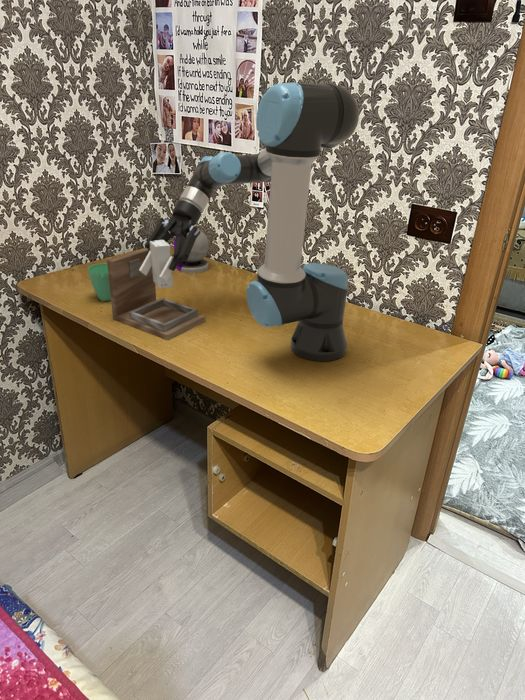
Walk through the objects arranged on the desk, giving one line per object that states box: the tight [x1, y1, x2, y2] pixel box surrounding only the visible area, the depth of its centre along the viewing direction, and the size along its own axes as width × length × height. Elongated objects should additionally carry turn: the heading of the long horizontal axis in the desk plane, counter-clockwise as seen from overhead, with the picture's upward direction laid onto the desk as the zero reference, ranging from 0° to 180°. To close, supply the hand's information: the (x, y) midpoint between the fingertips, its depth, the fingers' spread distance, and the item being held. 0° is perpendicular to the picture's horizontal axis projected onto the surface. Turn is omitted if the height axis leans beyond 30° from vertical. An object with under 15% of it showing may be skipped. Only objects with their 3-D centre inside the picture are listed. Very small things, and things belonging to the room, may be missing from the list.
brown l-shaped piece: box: [106, 247, 206, 341], centre depth 153 cm, size 22×16×18 cm
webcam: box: [173, 229, 210, 274], centre depth 196 cm, size 13×13×15 cm
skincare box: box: [150, 240, 174, 289], centre depth 148 cm, size 6×4×12 cm
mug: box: [87, 262, 111, 302], centre depth 169 cm, size 15×10×10 cm
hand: (152, 275), depth 147 cm, fingers closed on skincare box, 7 cm apart
